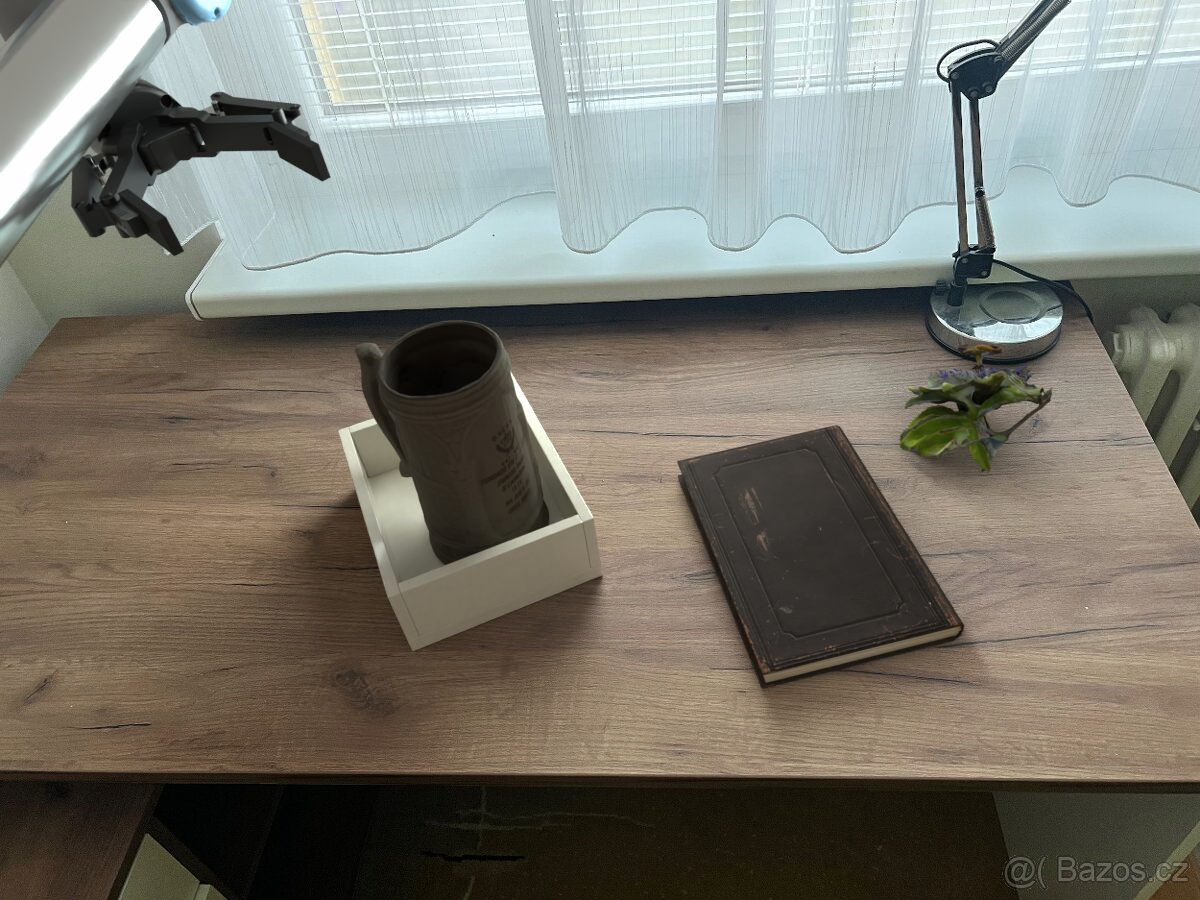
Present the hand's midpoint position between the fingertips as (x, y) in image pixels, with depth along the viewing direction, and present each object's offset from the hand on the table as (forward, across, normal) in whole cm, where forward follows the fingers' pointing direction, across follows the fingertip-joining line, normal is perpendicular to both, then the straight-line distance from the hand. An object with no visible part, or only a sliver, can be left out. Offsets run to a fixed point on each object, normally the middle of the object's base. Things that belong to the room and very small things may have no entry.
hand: (248, 198), depth 62 cm
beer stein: (+11, -3, -30) cm, 32 cm away
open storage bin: (+11, -3, -32) cm, 34 cm away
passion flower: (+39, -41, -32) cm, 65 cm away
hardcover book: (+35, -21, -32) cm, 52 cm away
